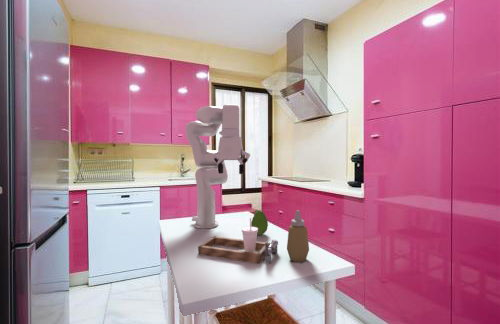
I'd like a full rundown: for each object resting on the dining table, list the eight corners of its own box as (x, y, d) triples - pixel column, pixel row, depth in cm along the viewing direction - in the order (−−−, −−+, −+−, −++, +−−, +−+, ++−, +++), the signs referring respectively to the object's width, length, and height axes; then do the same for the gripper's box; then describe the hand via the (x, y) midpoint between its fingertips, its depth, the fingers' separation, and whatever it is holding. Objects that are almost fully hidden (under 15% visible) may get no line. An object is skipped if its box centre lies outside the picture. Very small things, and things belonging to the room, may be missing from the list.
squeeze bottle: (304, 265, 87) (304, 214, 86) (283, 260, 91) (283, 211, 91) (312, 257, 94) (312, 209, 93) (291, 253, 98) (291, 207, 97)
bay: (198, 254, 97) (198, 246, 97) (214, 243, 109) (214, 236, 109) (259, 263, 89) (259, 255, 88) (269, 250, 101) (269, 243, 101)
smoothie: (246, 258, 93) (246, 220, 92) (238, 252, 98) (238, 216, 98) (261, 254, 96) (261, 218, 95) (253, 249, 101) (253, 214, 101)
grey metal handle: (263, 264, 88) (263, 242, 88) (272, 251, 99) (272, 232, 99) (269, 265, 87) (269, 243, 87) (278, 252, 99) (278, 232, 98)
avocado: (259, 238, 115) (259, 212, 115) (248, 234, 121) (247, 209, 121) (271, 234, 120) (271, 210, 120) (260, 231, 126) (259, 207, 126)
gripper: (208, 133, 107) (209, 173, 108) (246, 132, 101) (246, 174, 102) (216, 135, 114) (217, 172, 115) (252, 133, 108) (252, 173, 109)
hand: (231, 173), depth 108 cm, fingers open, 9 cm apart
